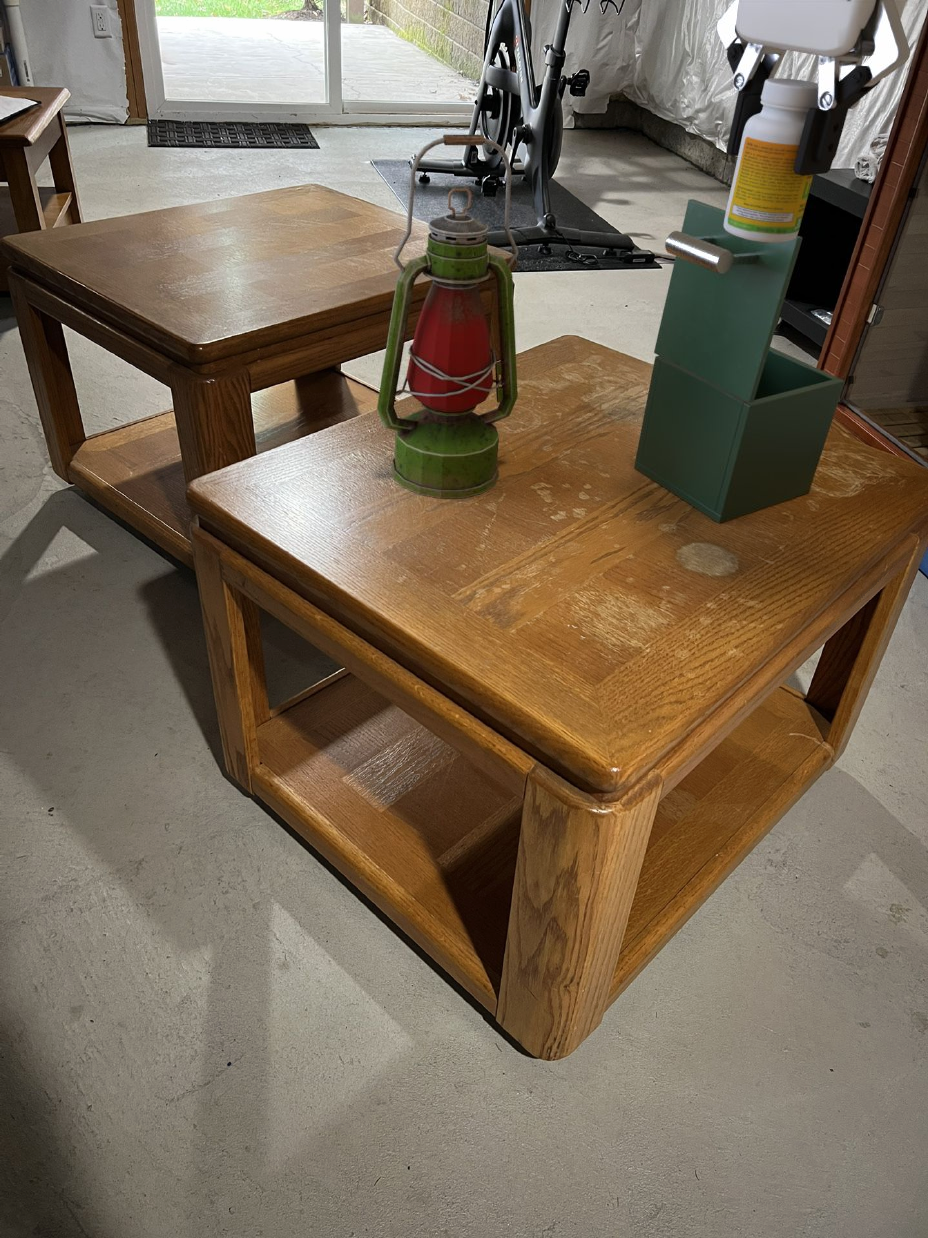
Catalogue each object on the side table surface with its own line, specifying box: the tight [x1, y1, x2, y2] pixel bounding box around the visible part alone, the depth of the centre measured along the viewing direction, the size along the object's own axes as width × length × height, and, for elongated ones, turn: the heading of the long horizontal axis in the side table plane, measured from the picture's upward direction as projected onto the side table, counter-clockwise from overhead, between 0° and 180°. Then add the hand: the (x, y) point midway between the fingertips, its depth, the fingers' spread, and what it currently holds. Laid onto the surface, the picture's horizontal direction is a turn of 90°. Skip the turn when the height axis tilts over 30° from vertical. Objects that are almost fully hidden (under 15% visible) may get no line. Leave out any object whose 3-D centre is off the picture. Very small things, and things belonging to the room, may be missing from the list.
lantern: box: [376, 134, 519, 499], centre depth 83 cm, size 14×11×30 cm
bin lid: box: [653, 198, 803, 402], centre depth 79 cm, size 14×12×5 cm
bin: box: [633, 346, 846, 524], centre depth 90 cm, size 13×12×12 cm
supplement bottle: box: [724, 77, 818, 242], centre depth 66 cm, size 5×5×10 cm
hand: (776, 160), depth 66 cm, fingers closed on supplement bottle, 5 cm apart
